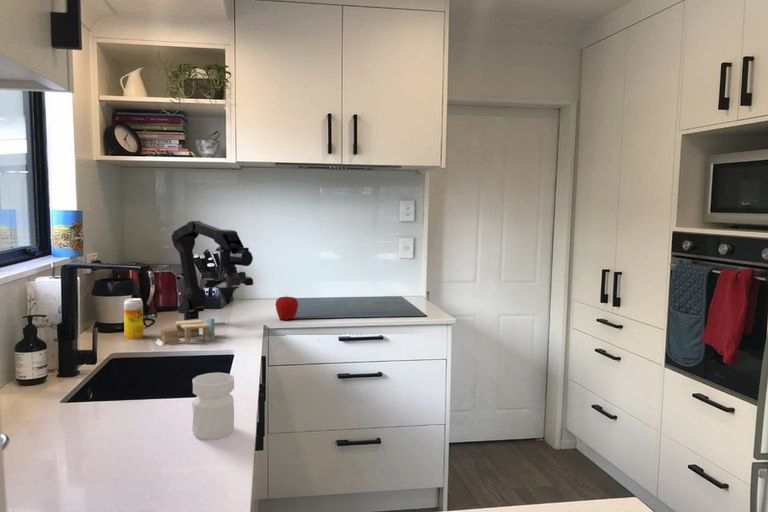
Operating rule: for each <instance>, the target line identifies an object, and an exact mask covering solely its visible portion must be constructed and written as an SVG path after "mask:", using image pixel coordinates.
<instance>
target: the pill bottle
mask: <svg viewBox="0 0 768 512" xmlns="http://www.w3.org/2000/svg"><path fill="white" fill-rule="evenodd" d="M191 382H192V394H193V395H195V396H196V397H195V398H193V400H192V401H191V403H192V434H193V436H194V437H195V439H199V440H200V439H201V440H203V441H204V440H205V441H208V440H209V441H211V440H213V441H214V440H220V439H223V438H226V437H228V436H230V435H231V434H233V433H234V430H235V410H234V409H235V403H234V401H235V400H234V396H233V395H232V394H231V393H232V392H233V391H234V389H235V376H234V375H231V374H230V373H226V372H209V373H204V374H200V375H196V376H195V377H193V378H192V381H191Z"/></svg>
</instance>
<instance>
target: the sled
mask: <svg viewBox="0 0 768 512" xmlns="http://www.w3.org/2000/svg"><path fill="white" fill-rule="evenodd" d="M205 323H207V324H209V340H212V339H215V338H216V337H215V335H216V334H215V327H216V326H215V323H216V322H215V318H213V317H212V316H206V317H205ZM197 341H198V342H199V341H203V335H198V336H191V342H197ZM154 343H156V344H157V345H158V346H160V347H161V346H166V345H167V346H168V345H174V344H175V345H176V344H183V343H184V344H185V337H182V338H178V343H171V344H164V342H162V341H161V340H160V338H157V339H156V341H154Z"/></svg>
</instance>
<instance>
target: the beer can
mask: <svg viewBox="0 0 768 512" xmlns="http://www.w3.org/2000/svg"><path fill="white" fill-rule="evenodd" d="M143 303H144V302H143V299H142V298H138V297H137V298H135V297H132V298H130V297H129V298H125V300H124V302H123V320H124V322H123V323H124V324H123V325H124V328H123V329H124V333H123V334H124V339H127V340H135V339H141V338H143V337H144V304H143Z"/></svg>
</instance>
